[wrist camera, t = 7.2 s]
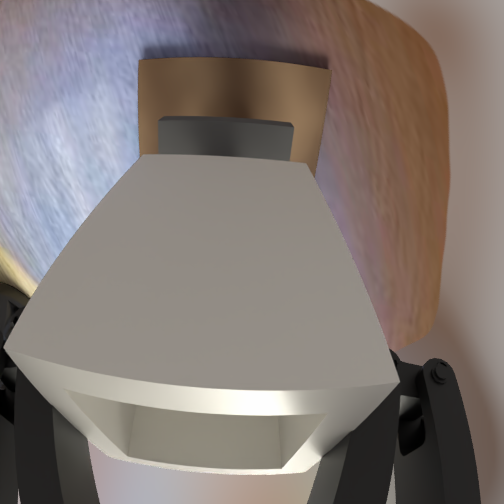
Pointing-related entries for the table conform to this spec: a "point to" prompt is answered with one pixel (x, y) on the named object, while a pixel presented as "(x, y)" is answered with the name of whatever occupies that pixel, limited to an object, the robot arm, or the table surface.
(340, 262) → the sleeve
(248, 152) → the ring
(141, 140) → the peg stacking board
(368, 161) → the table surface
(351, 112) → the table surface
